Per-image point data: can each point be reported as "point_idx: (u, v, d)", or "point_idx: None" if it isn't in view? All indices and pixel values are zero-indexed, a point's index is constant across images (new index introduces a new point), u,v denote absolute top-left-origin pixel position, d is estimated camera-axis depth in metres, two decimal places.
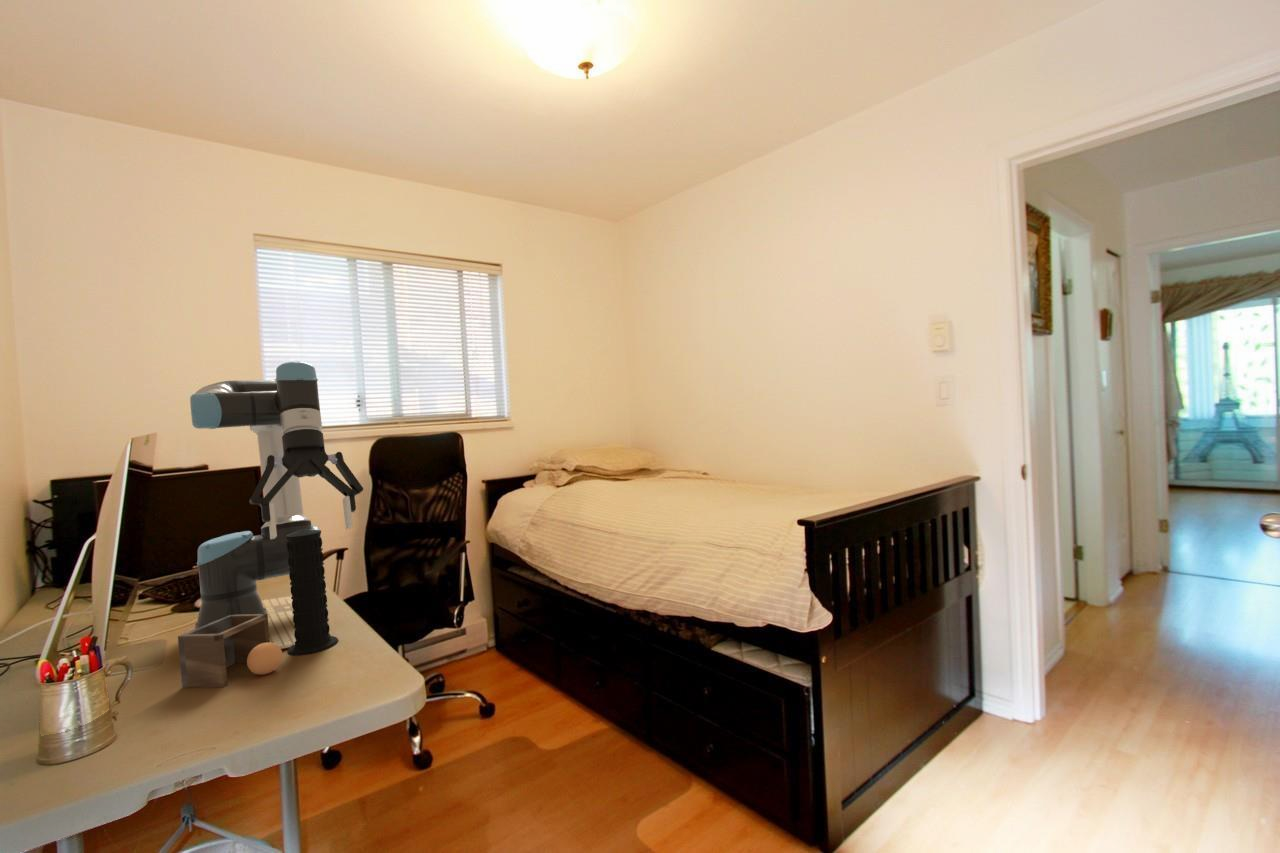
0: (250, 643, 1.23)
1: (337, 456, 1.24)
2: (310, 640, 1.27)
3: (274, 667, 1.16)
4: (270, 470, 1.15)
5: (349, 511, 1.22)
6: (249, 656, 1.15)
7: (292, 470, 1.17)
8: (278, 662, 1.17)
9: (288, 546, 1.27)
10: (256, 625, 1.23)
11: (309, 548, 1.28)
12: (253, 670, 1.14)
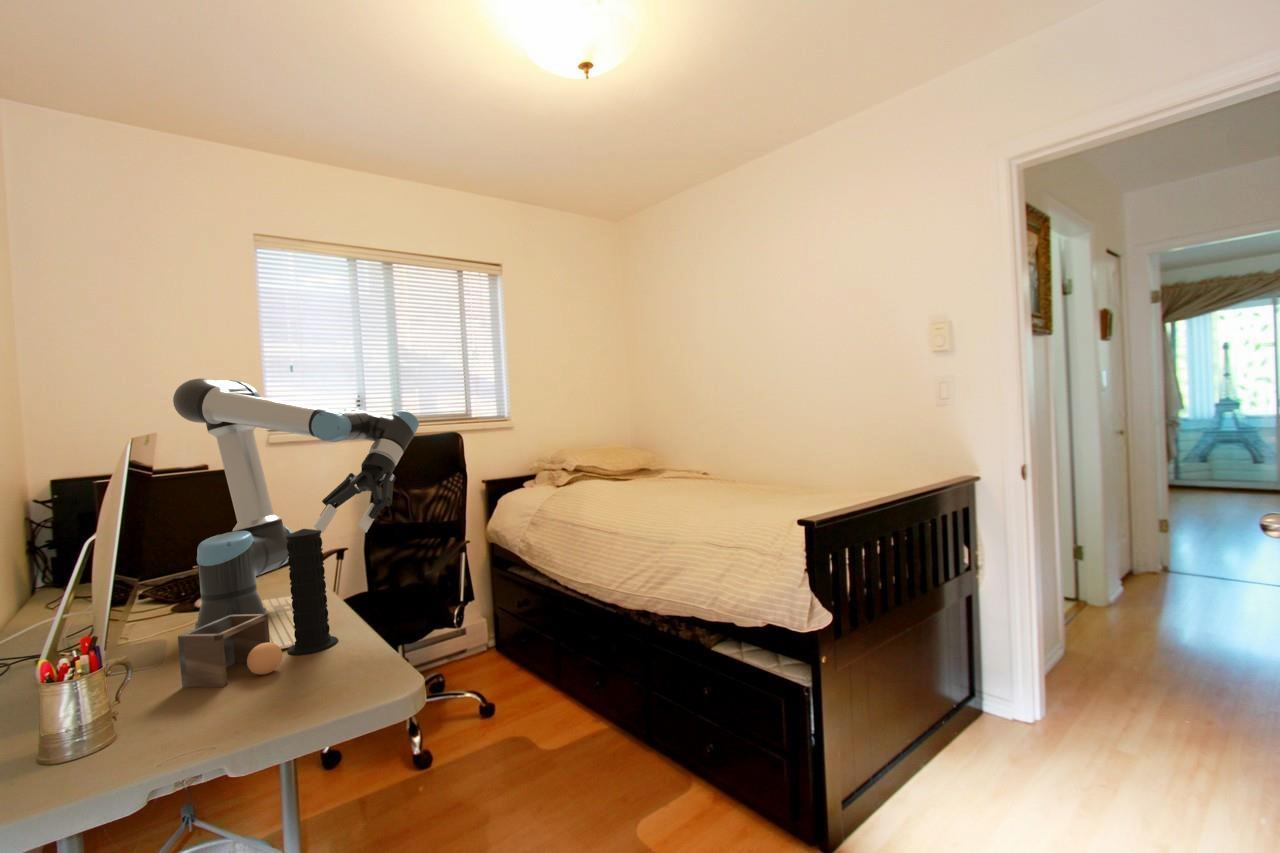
0: (250, 643, 1.23)
1: None
2: (310, 640, 1.27)
3: (274, 667, 1.16)
4: None
5: None
6: (249, 656, 1.15)
7: None
8: (278, 662, 1.17)
9: (288, 546, 1.27)
10: (256, 625, 1.23)
11: (309, 548, 1.28)
12: (253, 670, 1.14)
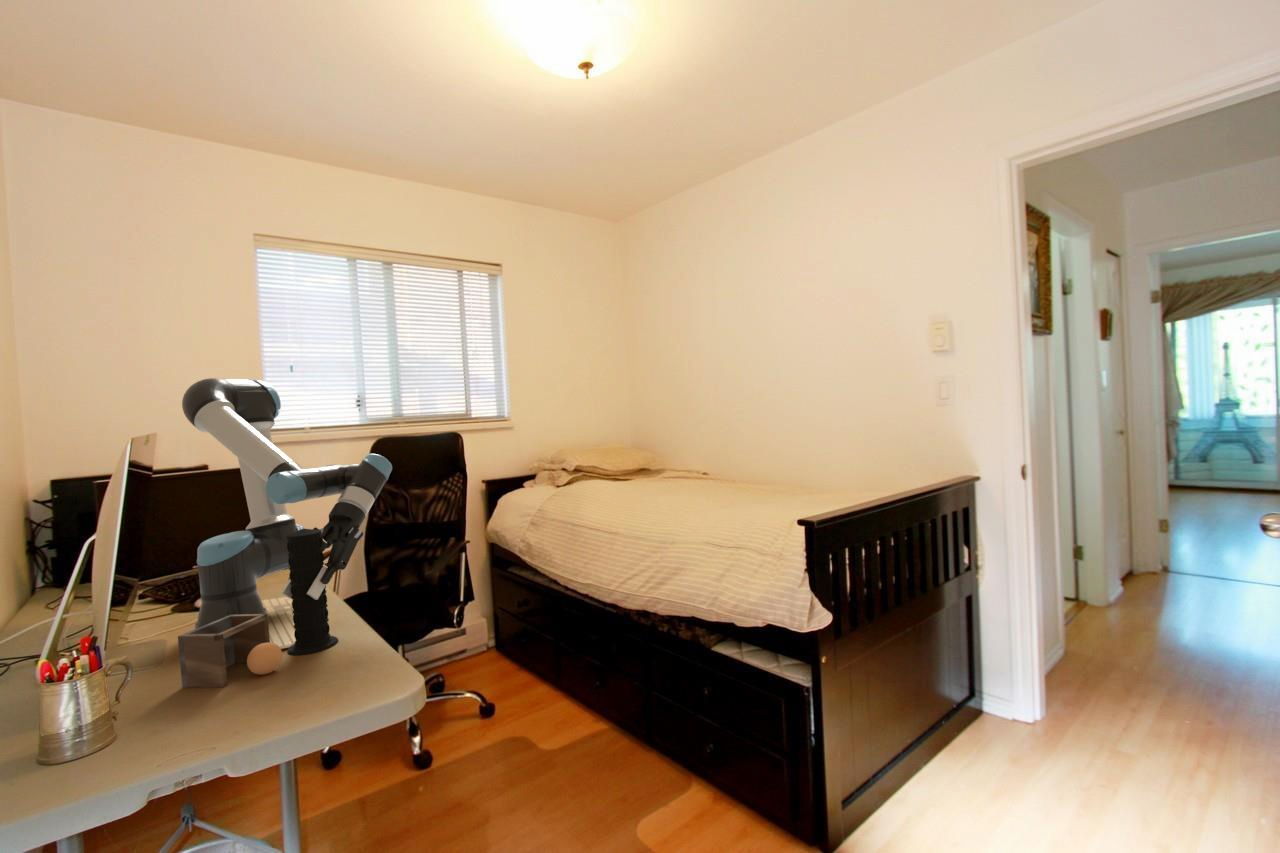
0: (250, 643, 1.23)
1: None
2: (310, 640, 1.27)
3: (274, 667, 1.16)
4: None
5: None
6: (249, 656, 1.15)
7: None
8: (278, 662, 1.17)
9: (288, 546, 1.27)
10: (256, 625, 1.23)
11: (309, 548, 1.28)
12: (253, 670, 1.14)
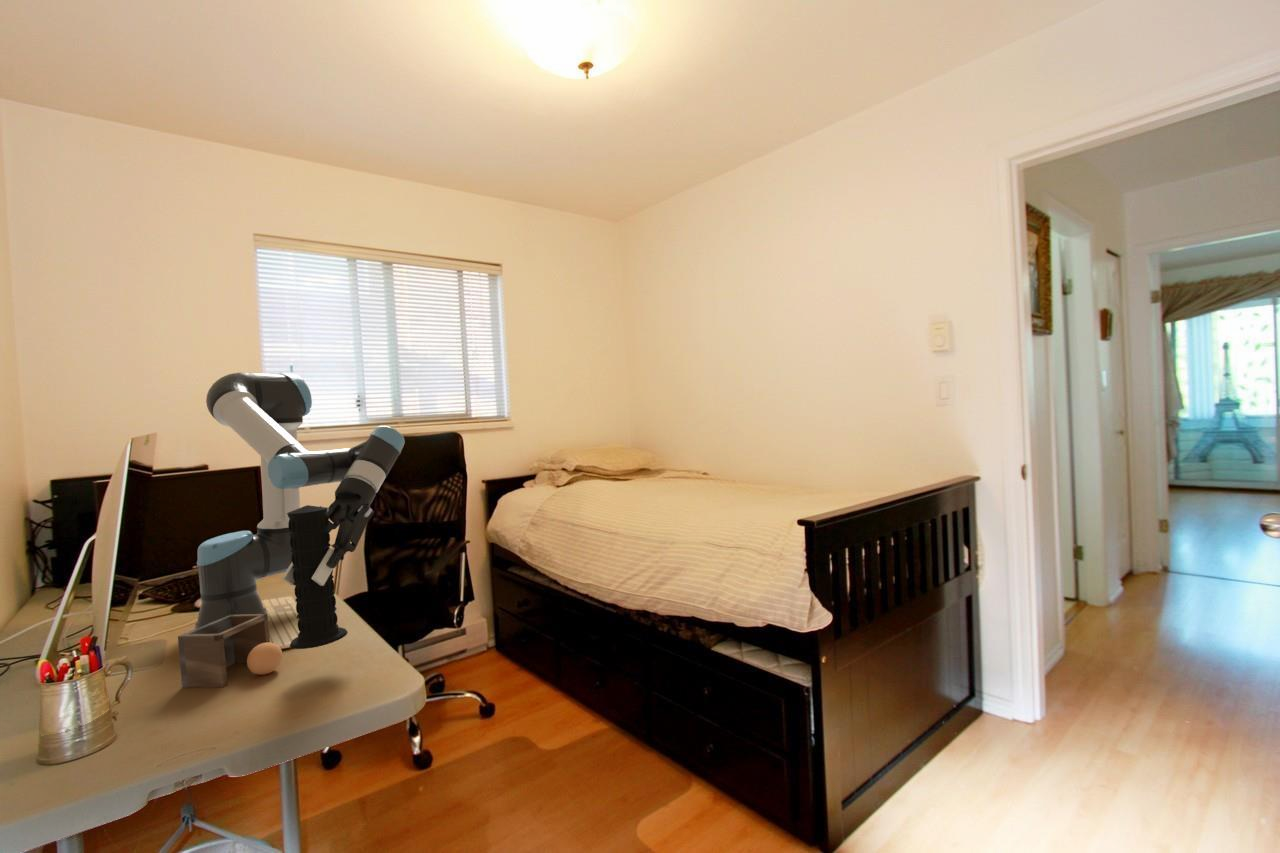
0: (250, 643, 1.23)
1: None
2: (315, 632, 1.12)
3: (274, 667, 1.16)
4: None
5: None
6: (249, 656, 1.15)
7: None
8: (278, 662, 1.17)
9: (290, 525, 1.12)
10: (256, 625, 1.23)
11: (314, 527, 1.12)
12: (253, 670, 1.14)
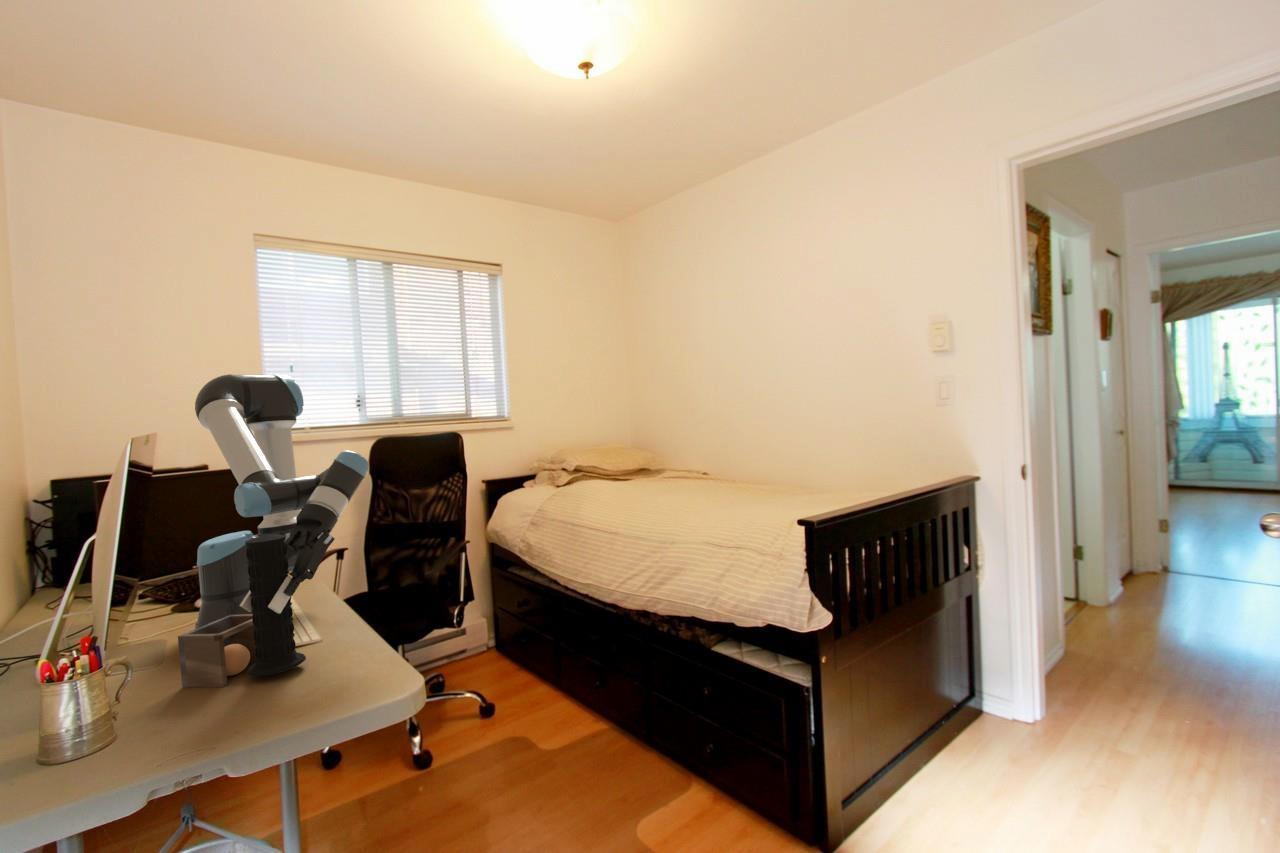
0: (250, 643, 1.23)
1: None
2: (272, 659, 1.14)
3: (226, 647, 1.17)
4: None
5: None
6: None
7: None
8: None
9: (247, 553, 1.14)
10: None
11: (271, 555, 1.14)
12: (226, 663, 1.15)
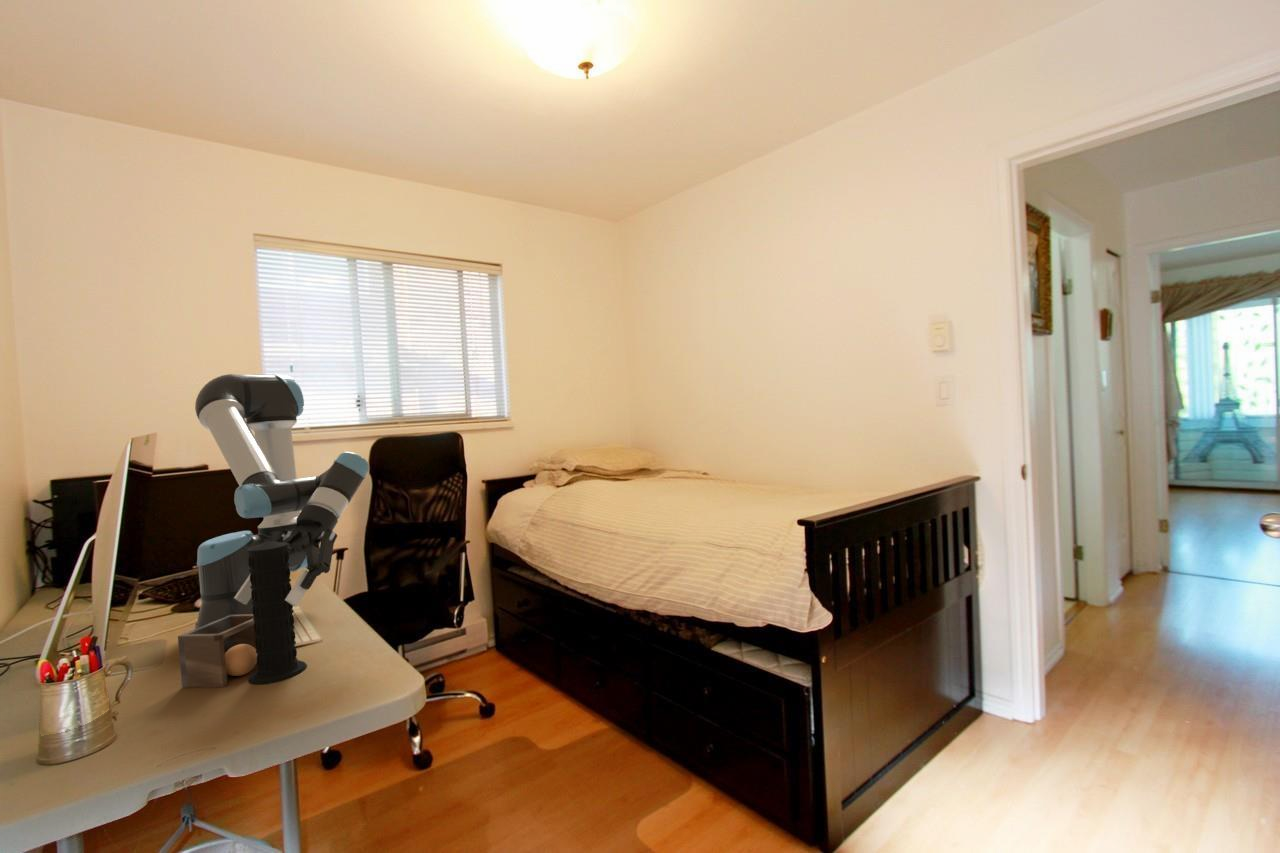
0: (250, 643, 1.23)
1: None
2: (274, 667, 1.14)
3: (242, 649, 1.16)
4: None
5: None
6: (226, 672, 1.15)
7: None
8: (241, 646, 1.17)
9: (250, 561, 1.14)
10: None
11: (273, 563, 1.14)
12: (234, 668, 1.14)
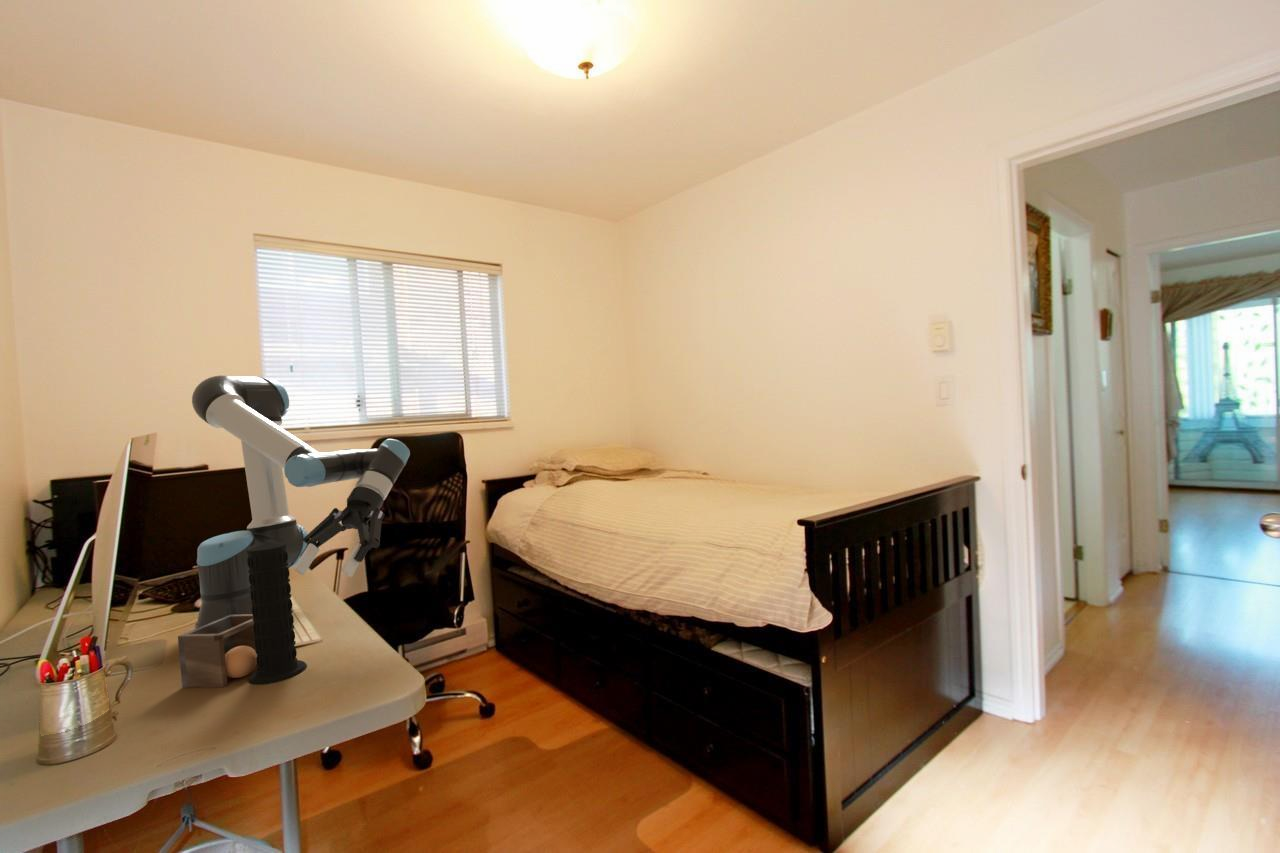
0: (250, 643, 1.23)
1: None
2: (273, 667, 1.14)
3: (242, 655, 1.14)
4: None
5: None
6: None
7: None
8: (241, 651, 1.15)
9: (249, 562, 1.14)
10: None
11: (272, 564, 1.14)
12: (235, 674, 1.14)
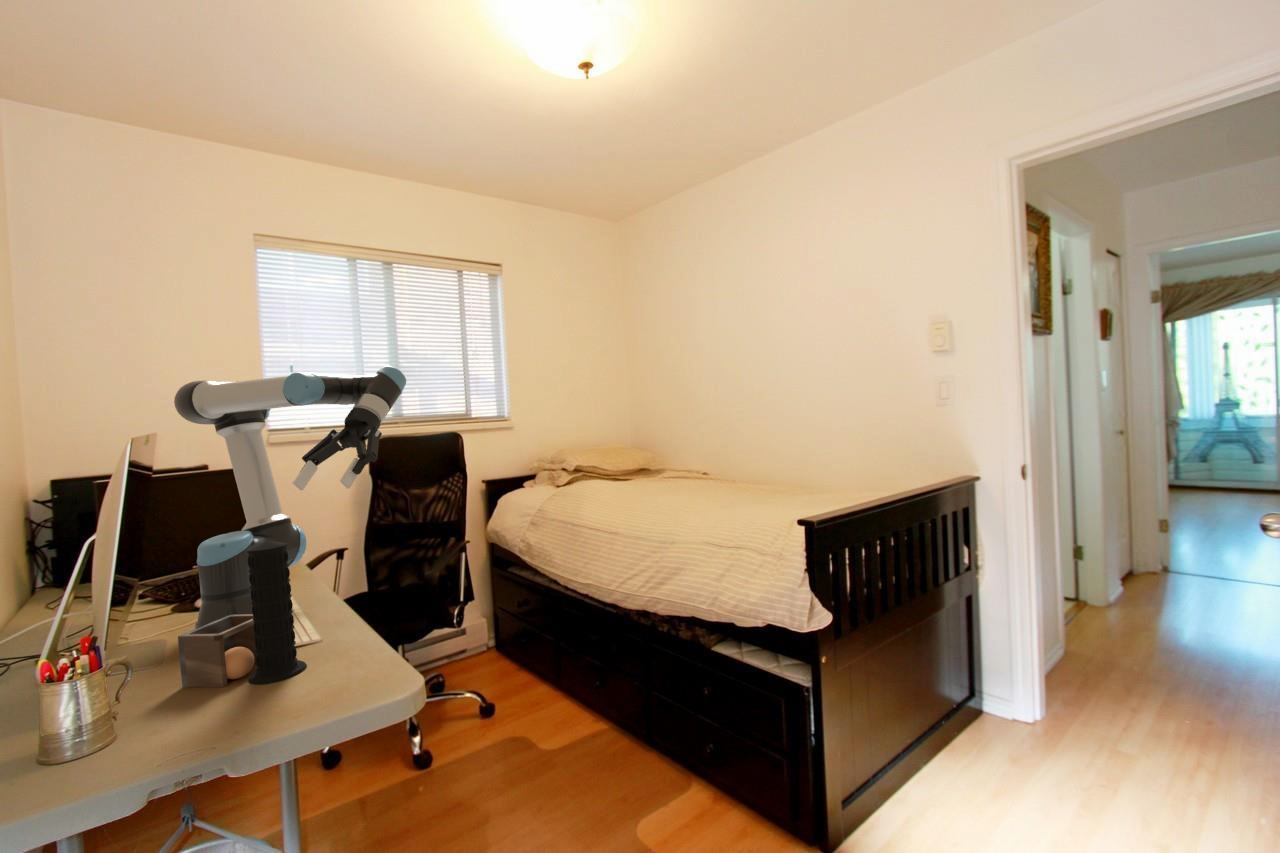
0: (250, 643, 1.23)
1: None
2: (273, 667, 1.14)
3: (237, 658, 1.14)
4: None
5: None
6: None
7: None
8: (234, 654, 1.14)
9: (249, 561, 1.14)
10: None
11: (273, 563, 1.14)
12: (234, 676, 1.13)
